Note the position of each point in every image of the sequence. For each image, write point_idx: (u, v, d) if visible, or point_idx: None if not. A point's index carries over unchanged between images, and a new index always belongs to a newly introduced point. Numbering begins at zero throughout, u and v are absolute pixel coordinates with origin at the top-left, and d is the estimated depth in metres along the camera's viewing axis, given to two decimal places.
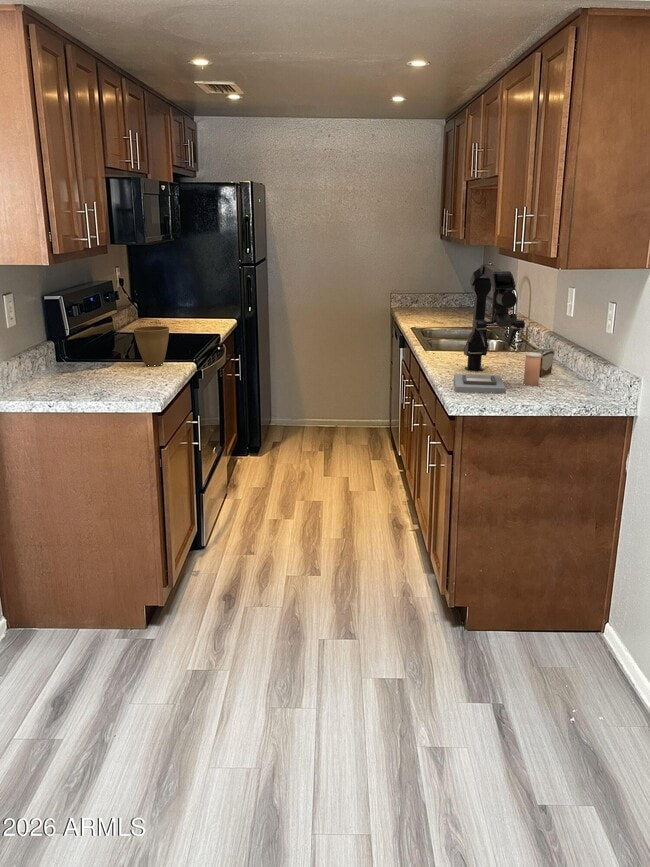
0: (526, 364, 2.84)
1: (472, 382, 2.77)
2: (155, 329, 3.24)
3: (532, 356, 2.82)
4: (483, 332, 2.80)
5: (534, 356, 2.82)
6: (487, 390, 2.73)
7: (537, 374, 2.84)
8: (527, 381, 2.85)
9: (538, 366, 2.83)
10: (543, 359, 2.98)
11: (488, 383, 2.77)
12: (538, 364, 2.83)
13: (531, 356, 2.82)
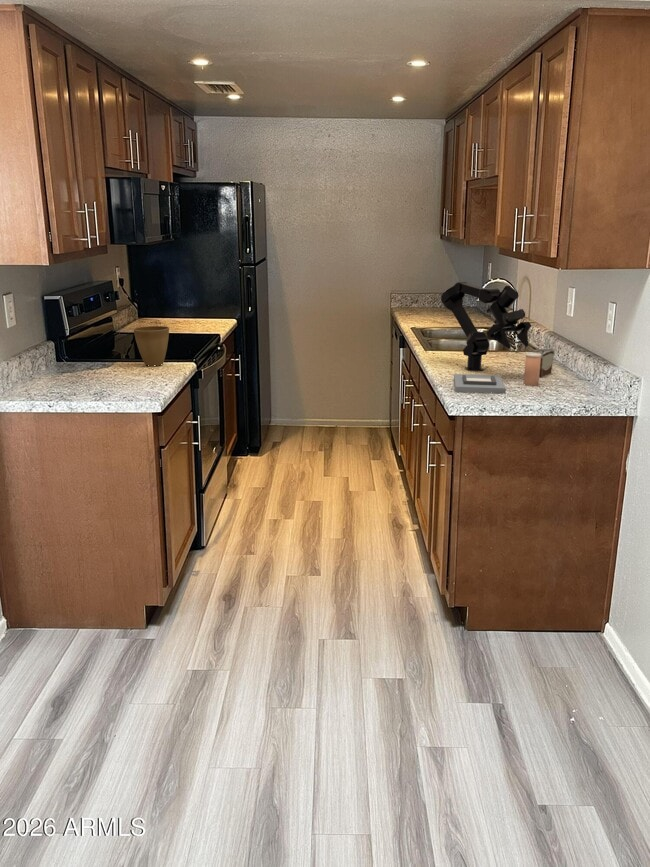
0: (526, 364, 2.84)
1: (472, 382, 2.77)
2: (155, 329, 3.24)
3: (532, 356, 2.82)
4: (502, 333, 2.88)
5: (534, 356, 2.82)
6: (487, 390, 2.73)
7: (537, 374, 2.84)
8: (527, 381, 2.85)
9: (538, 366, 2.83)
10: (543, 359, 2.98)
11: (488, 383, 2.77)
12: (538, 364, 2.83)
13: (531, 356, 2.82)
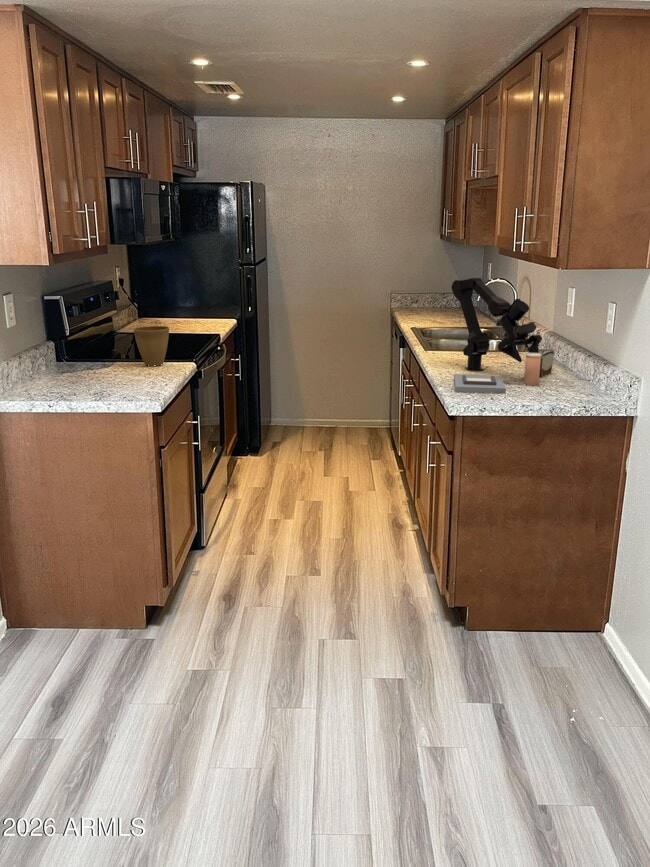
0: (526, 364, 2.84)
1: (472, 382, 2.77)
2: (155, 329, 3.24)
3: (532, 356, 2.82)
4: (513, 347, 2.84)
5: (534, 356, 2.82)
6: (487, 390, 2.73)
7: (537, 374, 2.84)
8: (527, 381, 2.85)
9: (538, 366, 2.83)
10: (543, 359, 2.98)
11: (488, 383, 2.77)
12: (538, 364, 2.83)
13: (531, 356, 2.82)
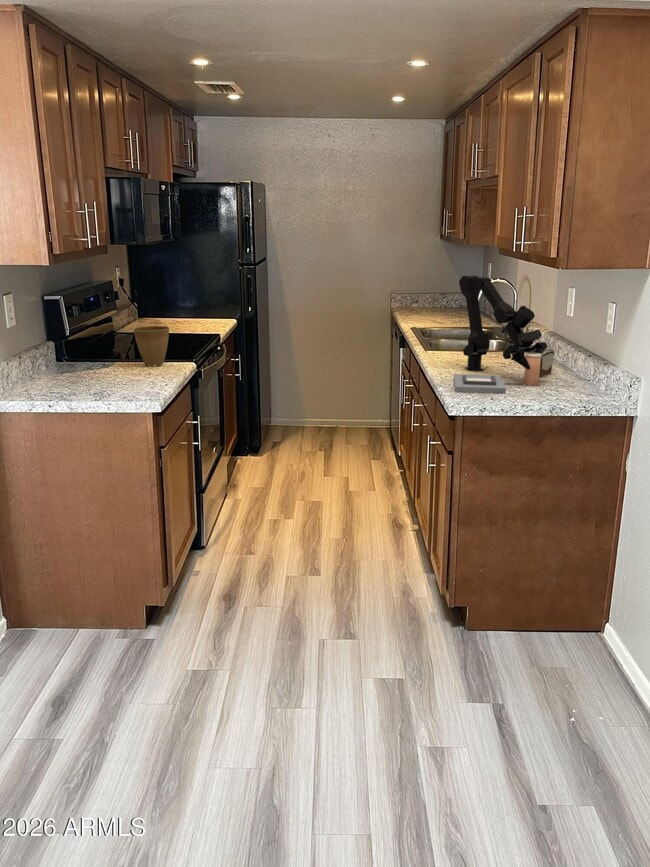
0: None
1: (472, 382, 2.77)
2: (155, 329, 3.24)
3: (532, 356, 2.82)
4: (522, 354, 2.83)
5: (534, 356, 2.82)
6: (487, 390, 2.73)
7: (537, 374, 2.84)
8: (527, 381, 2.85)
9: (538, 366, 2.83)
10: (543, 359, 2.98)
11: (488, 383, 2.77)
12: (538, 364, 2.83)
13: (531, 356, 2.82)
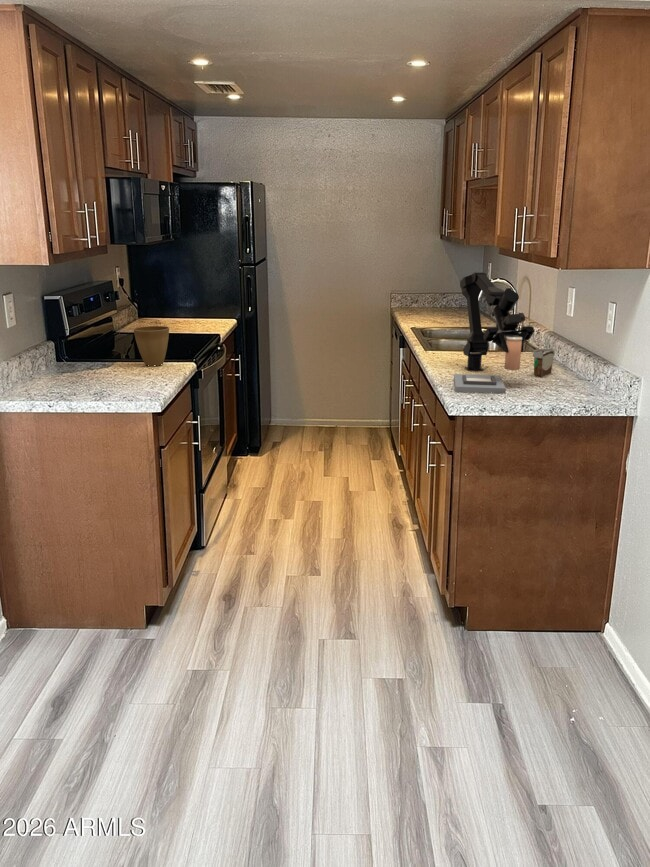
0: None
1: (472, 382, 2.77)
2: (155, 329, 3.24)
3: (511, 339, 2.77)
4: (501, 337, 2.79)
5: (513, 339, 2.76)
6: (487, 390, 2.73)
7: (516, 358, 2.78)
8: (506, 365, 2.80)
9: (517, 350, 2.78)
10: (543, 359, 2.98)
11: (488, 383, 2.77)
12: (517, 348, 2.77)
13: (510, 339, 2.77)
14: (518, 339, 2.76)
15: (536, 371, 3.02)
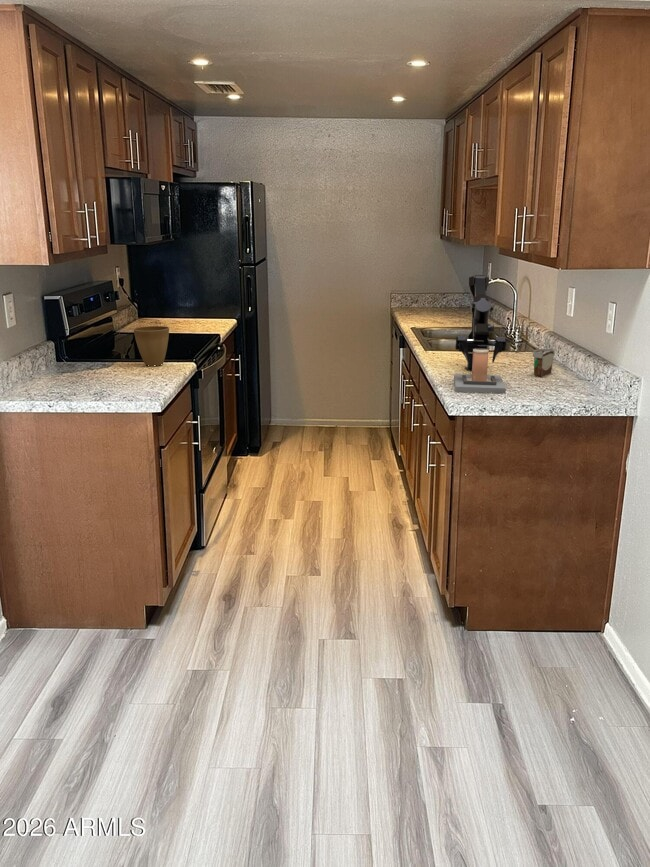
0: None
1: (472, 382, 2.77)
2: (155, 329, 3.24)
3: (475, 351, 2.78)
4: (464, 345, 2.81)
5: (476, 352, 2.77)
6: (487, 390, 2.73)
7: (480, 371, 2.79)
8: (472, 377, 2.82)
9: (481, 362, 2.78)
10: (543, 359, 2.98)
11: (488, 383, 2.77)
12: (481, 360, 2.78)
13: (474, 351, 2.78)
14: (481, 352, 2.77)
15: (536, 371, 3.02)
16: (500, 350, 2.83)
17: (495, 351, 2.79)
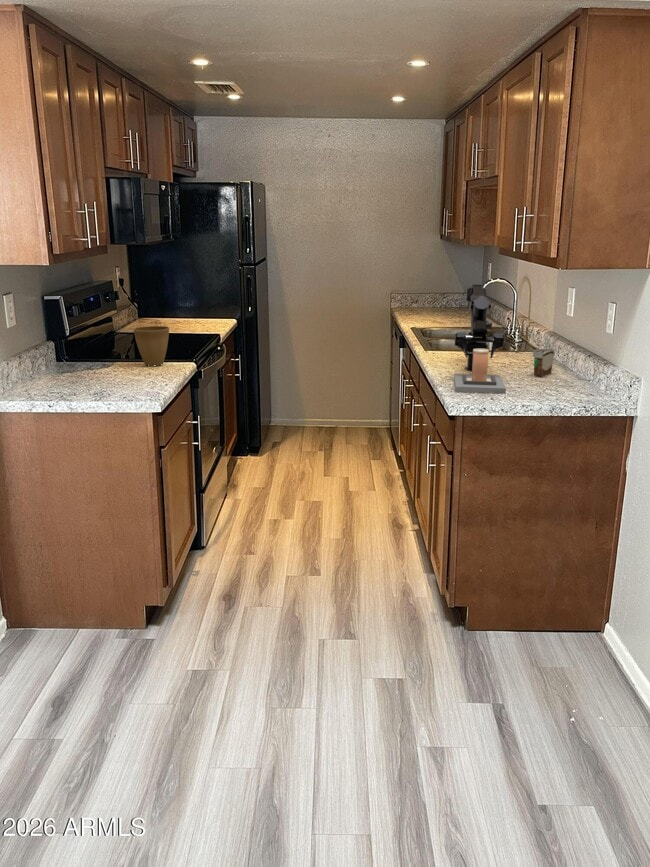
0: None
1: (472, 382, 2.77)
2: (155, 329, 3.24)
3: (475, 351, 2.78)
4: (463, 342, 2.90)
5: (476, 352, 2.78)
6: (487, 390, 2.73)
7: (480, 371, 2.79)
8: (472, 377, 2.82)
9: (481, 362, 2.78)
10: (543, 359, 2.98)
11: (488, 383, 2.77)
12: (481, 360, 2.78)
13: (474, 351, 2.78)
14: (482, 352, 2.77)
15: (536, 371, 3.02)
16: (498, 346, 2.91)
17: (493, 347, 2.88)
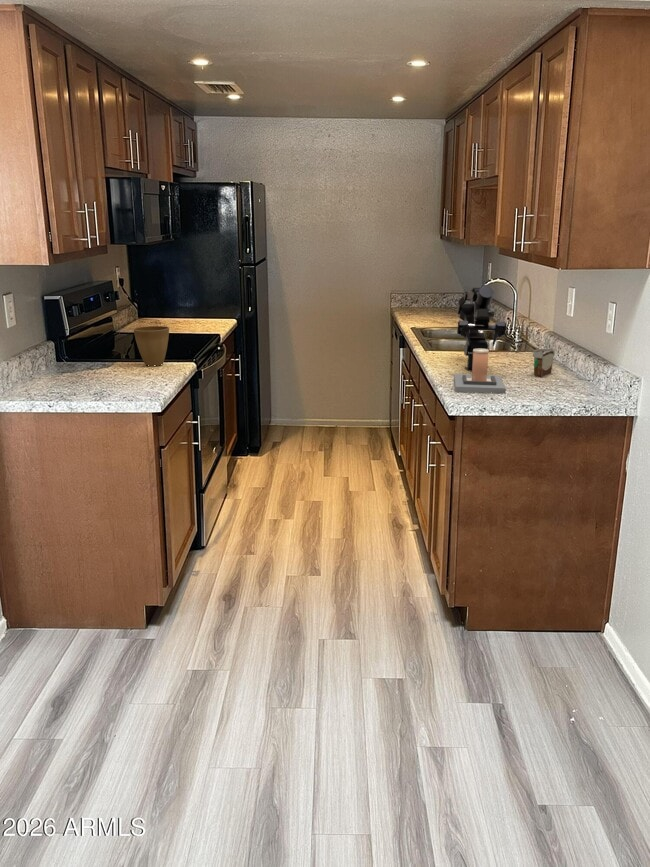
0: None
1: (472, 382, 2.77)
2: (155, 329, 3.24)
3: (475, 351, 2.78)
4: (465, 330, 2.94)
5: (476, 352, 2.78)
6: (487, 390, 2.73)
7: (480, 371, 2.79)
8: (472, 377, 2.82)
9: (481, 362, 2.78)
10: (543, 359, 2.98)
11: (488, 383, 2.77)
12: (481, 360, 2.78)
13: (474, 351, 2.78)
14: (482, 352, 2.77)
15: (536, 371, 3.02)
16: (500, 334, 2.96)
17: (495, 335, 2.92)
